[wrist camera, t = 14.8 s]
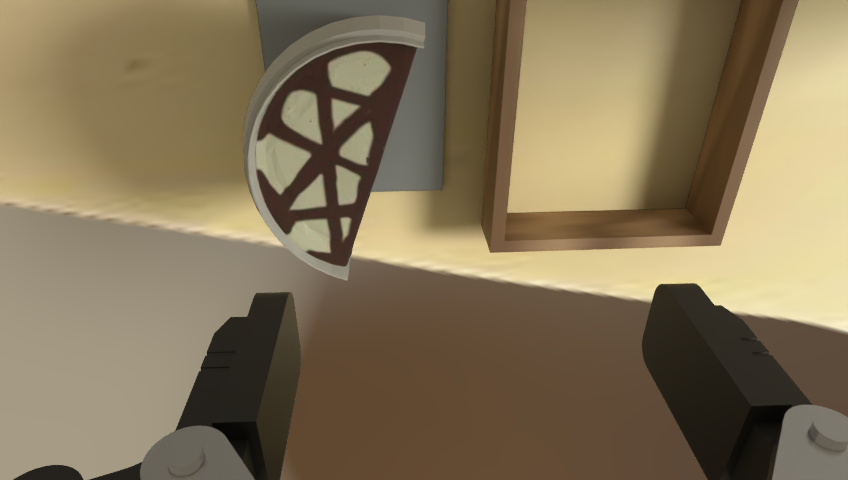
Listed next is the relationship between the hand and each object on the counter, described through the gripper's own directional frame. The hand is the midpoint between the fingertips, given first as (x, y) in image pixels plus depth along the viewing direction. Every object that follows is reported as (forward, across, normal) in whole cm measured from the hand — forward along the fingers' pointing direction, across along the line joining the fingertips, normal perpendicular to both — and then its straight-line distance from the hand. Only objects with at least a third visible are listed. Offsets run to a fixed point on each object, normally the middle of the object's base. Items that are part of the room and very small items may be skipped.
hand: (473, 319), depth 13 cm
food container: (+23, +5, +1) cm, 23 cm away
